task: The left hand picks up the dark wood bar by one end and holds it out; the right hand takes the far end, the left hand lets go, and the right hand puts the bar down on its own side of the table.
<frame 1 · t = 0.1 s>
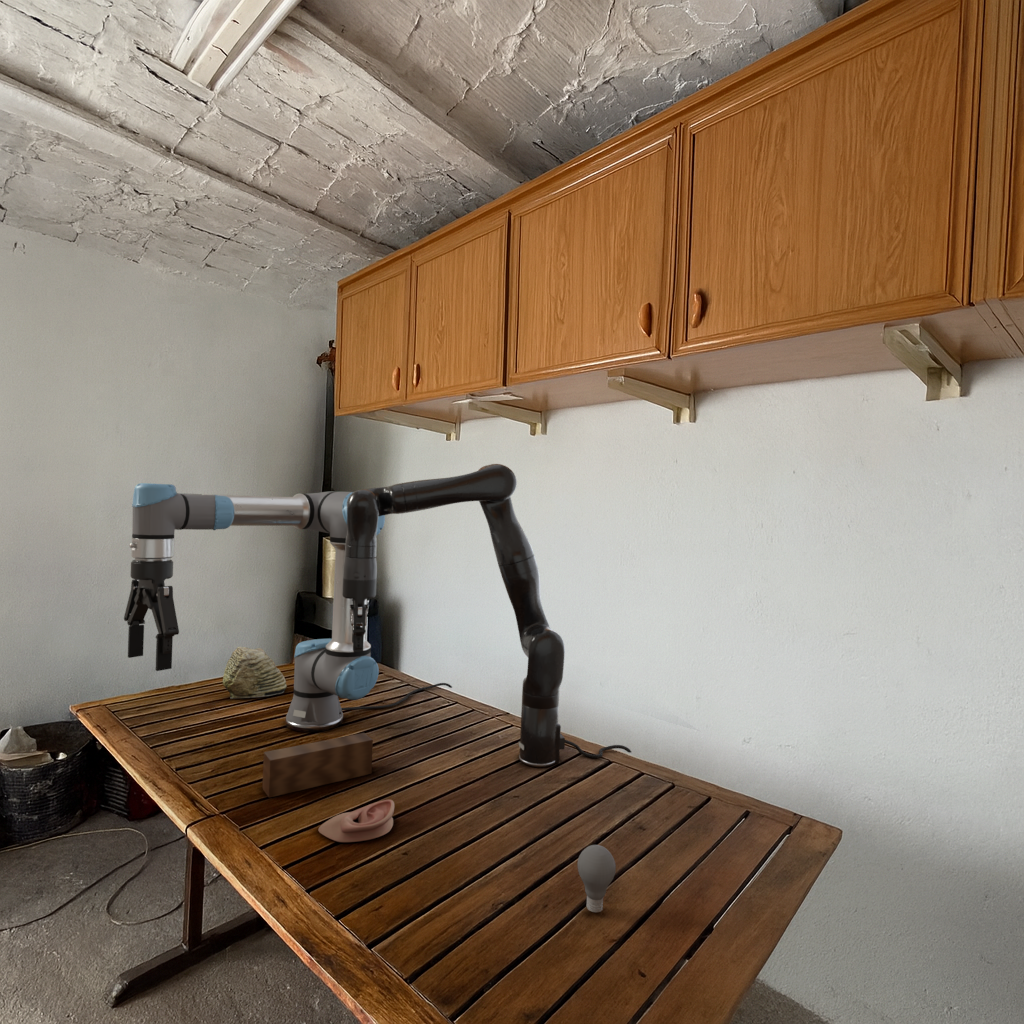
left hand: (149, 662, 129), 28 cm above the table, tool pointing down, fingers open, 13 cm apart
right hand: (357, 647, 145), 29 cm above the table, tool pointing down, fingers open, 8 cm apart
fossil: (254, 694, 198), on the table
light bulb: (594, 911, 100), on the table
bar: (318, 780, 141), on the table
anatomical model: (356, 828, 122), on the table
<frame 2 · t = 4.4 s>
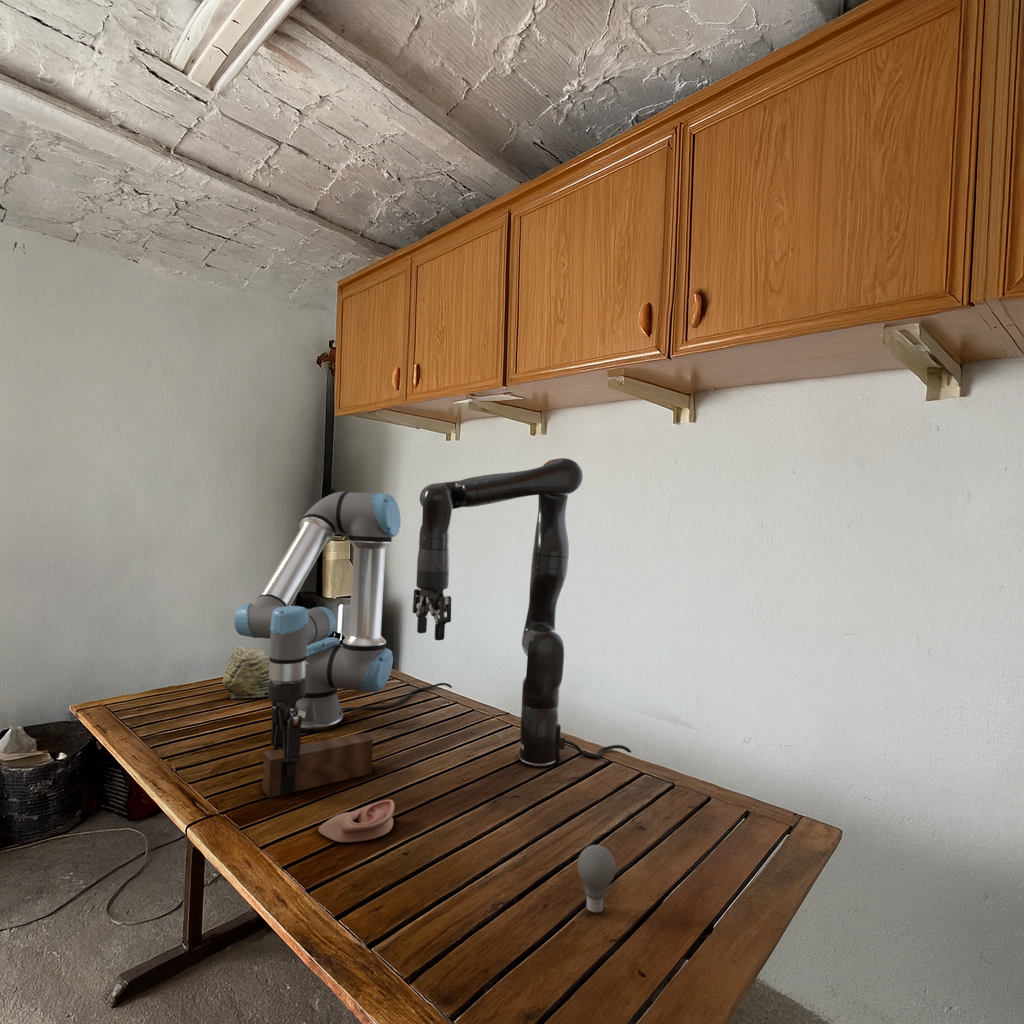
left hand: (283, 786, 137), 1 cm above the table, tool pointing down, fingers closed on bar, 5 cm apart
right hand: (430, 636, 150), 31 cm above the table, tool pointing down, fingers open, 8 cm apart
bar: (318, 780, 141), on the table, touching left hand
everything else where it was.
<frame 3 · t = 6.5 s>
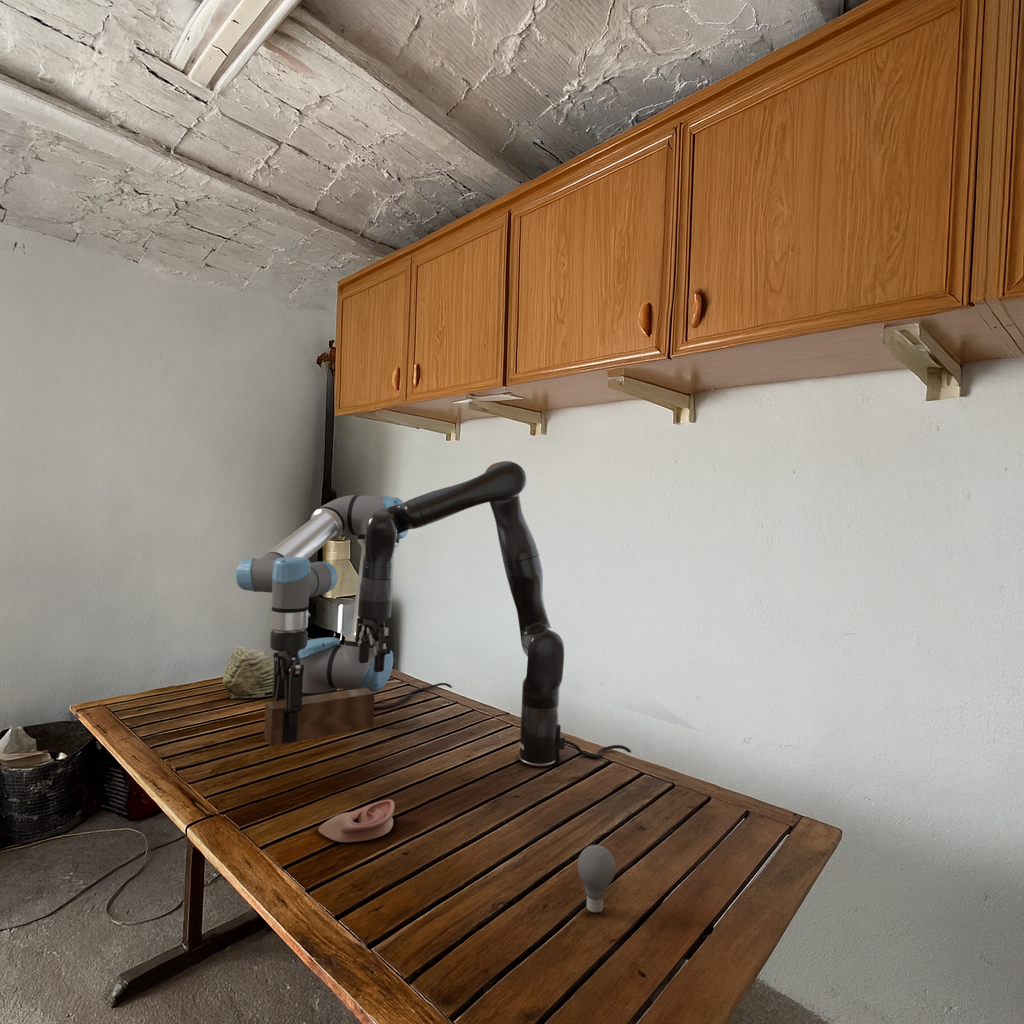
left hand: (285, 736, 136), 11 cm above the table, tool pointing down, fingers closed on bar, 5 cm apart
right hand: (370, 667, 146), 24 cm above the table, tool pointing down, fingers open, 8 cm apart
bar: (320, 732, 141), point 11 cm above the table, touching left hand
everything else where it was.
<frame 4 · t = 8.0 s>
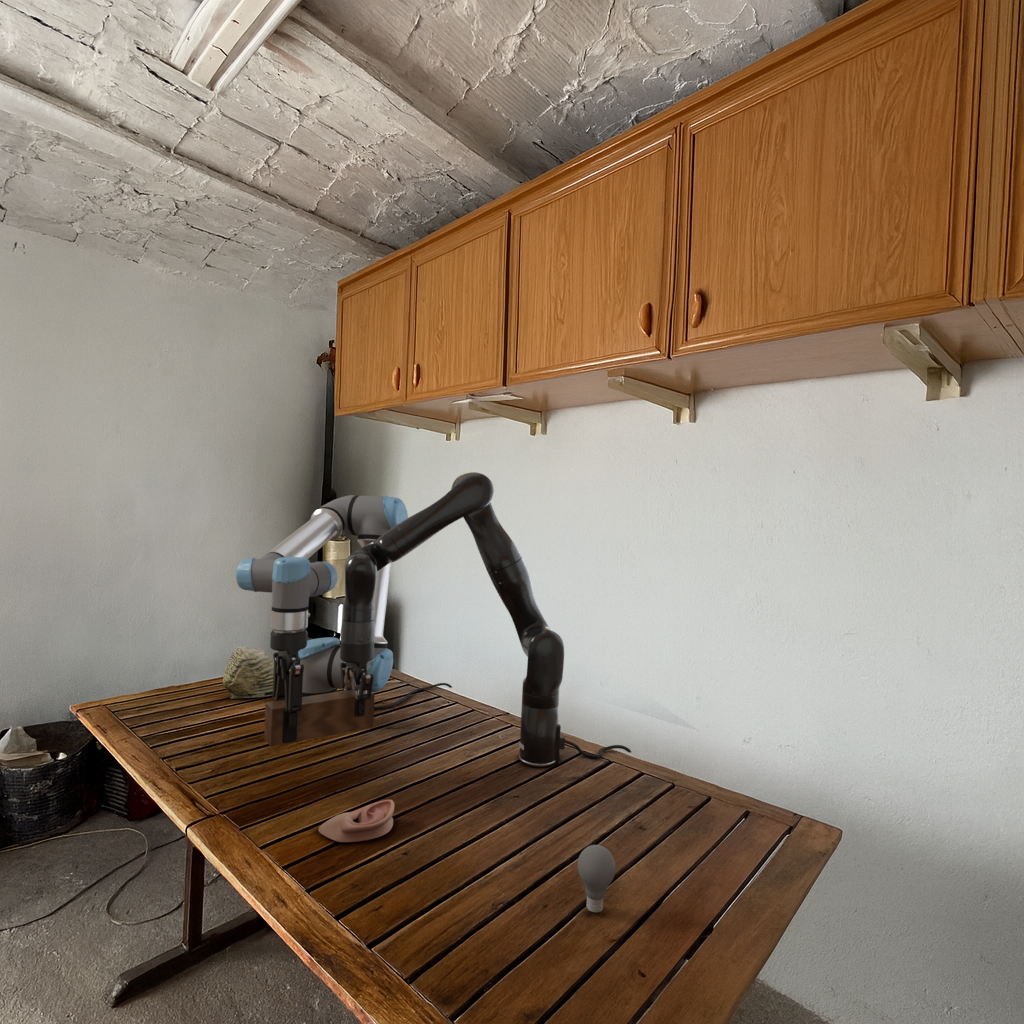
left hand: (285, 736, 136), 11 cm above the table, tool pointing down, fingers closed on bar, 5 cm apart
right hand: (354, 712, 146), 14 cm above the table, tool pointing down, fingers closed on bar, 5 cm apart
bar: (320, 733, 141), point 11 cm above the table, touching left hand, right hand
everything else where it was.
when the left hand's fingers open (11 cm above the table, at t = 8.9 s): bar stays where it is, held by the right hand.
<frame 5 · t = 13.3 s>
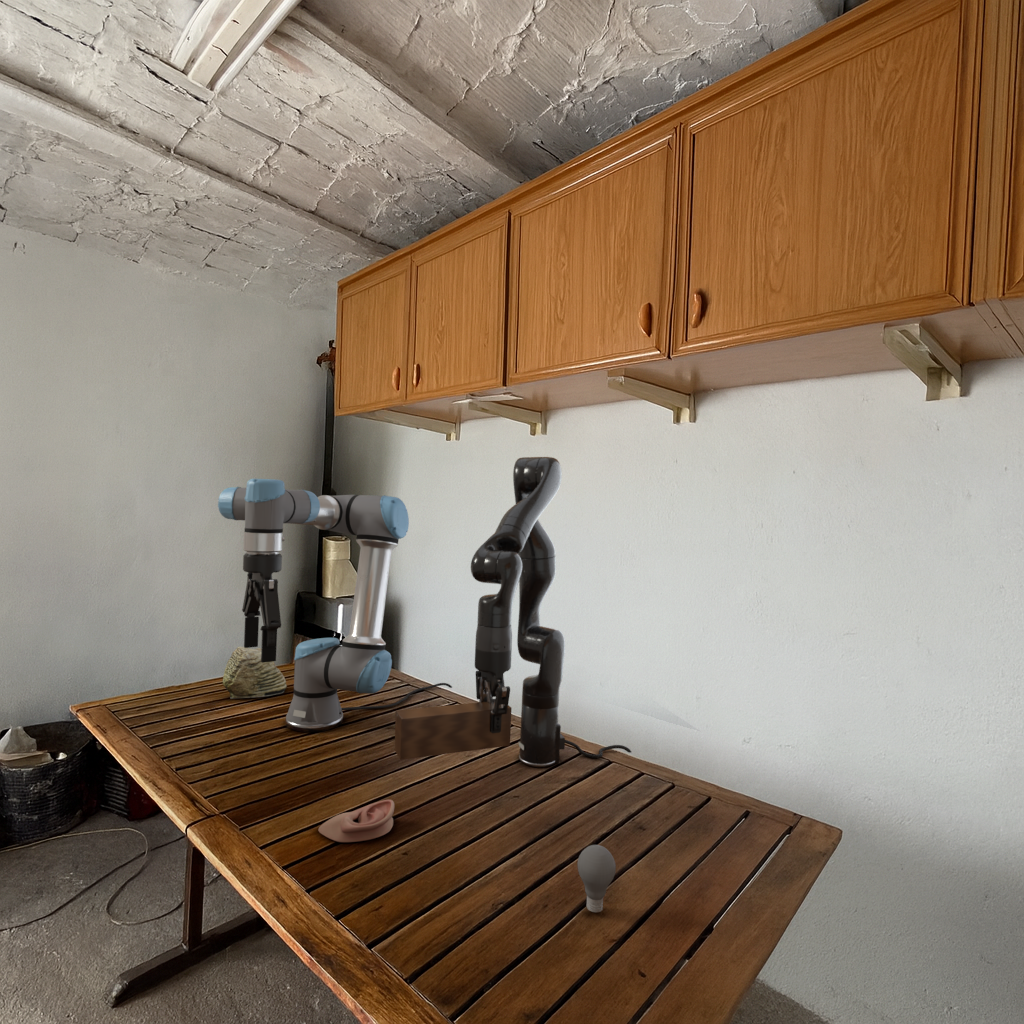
left hand: (259, 654, 132), 30 cm above the table, tool pointing down, fingers open, 13 cm apart
right hand: (490, 727, 131), 17 cm above the table, tool pointing down, fingers closed on bar, 5 cm apart
bar: (453, 747, 128), point 14 cm above the table, touching right hand
everything else where it was.
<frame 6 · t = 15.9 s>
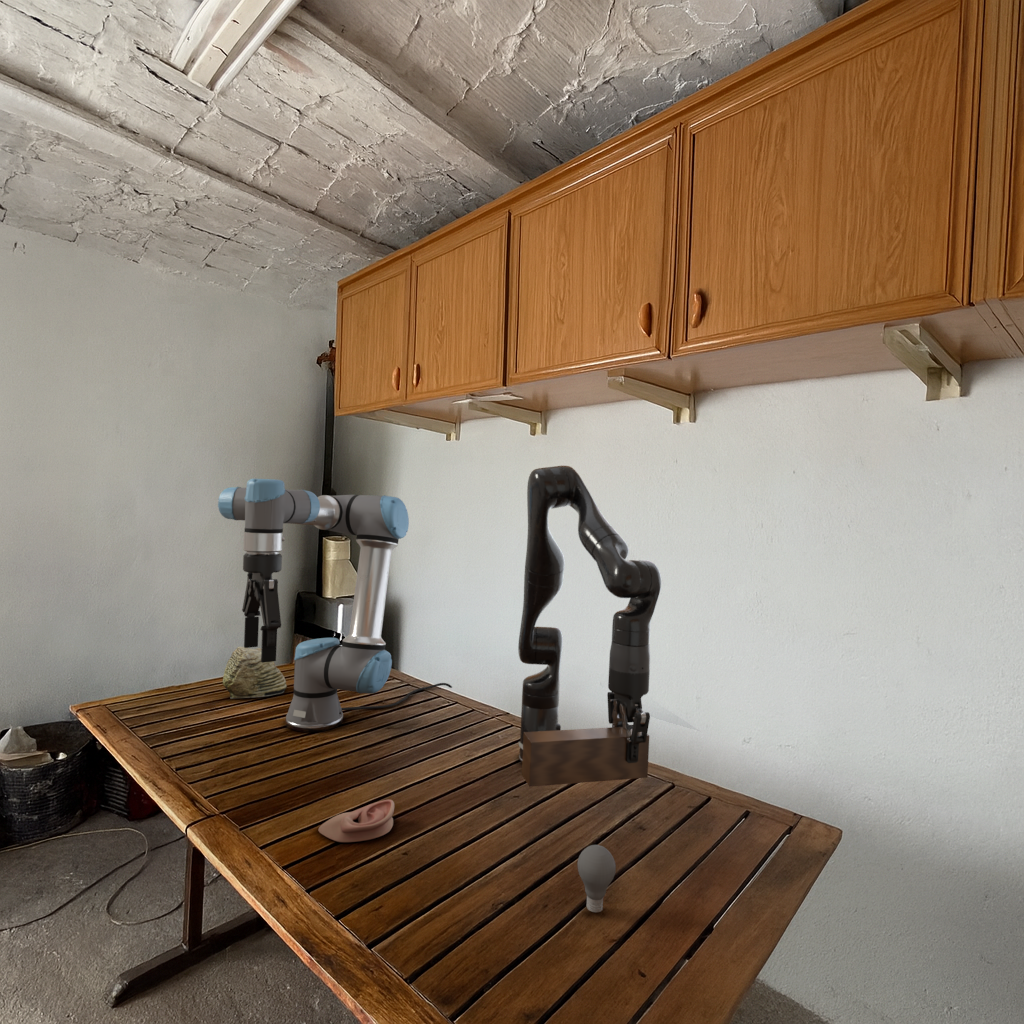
left hand: (259, 654, 132), 30 cm above the table, tool pointing down, fingers open, 13 cm apart
right hand: (625, 755, 119), 17 cm above the table, tool pointing down, fingers closed on bar, 5 cm apart
bar: (584, 776, 117), point 14 cm above the table, touching right hand
everything else where it was.
when the right hand's fingers open (4 cm above the table, at t = 18.4 s): bar drops 1 cm, on the table.
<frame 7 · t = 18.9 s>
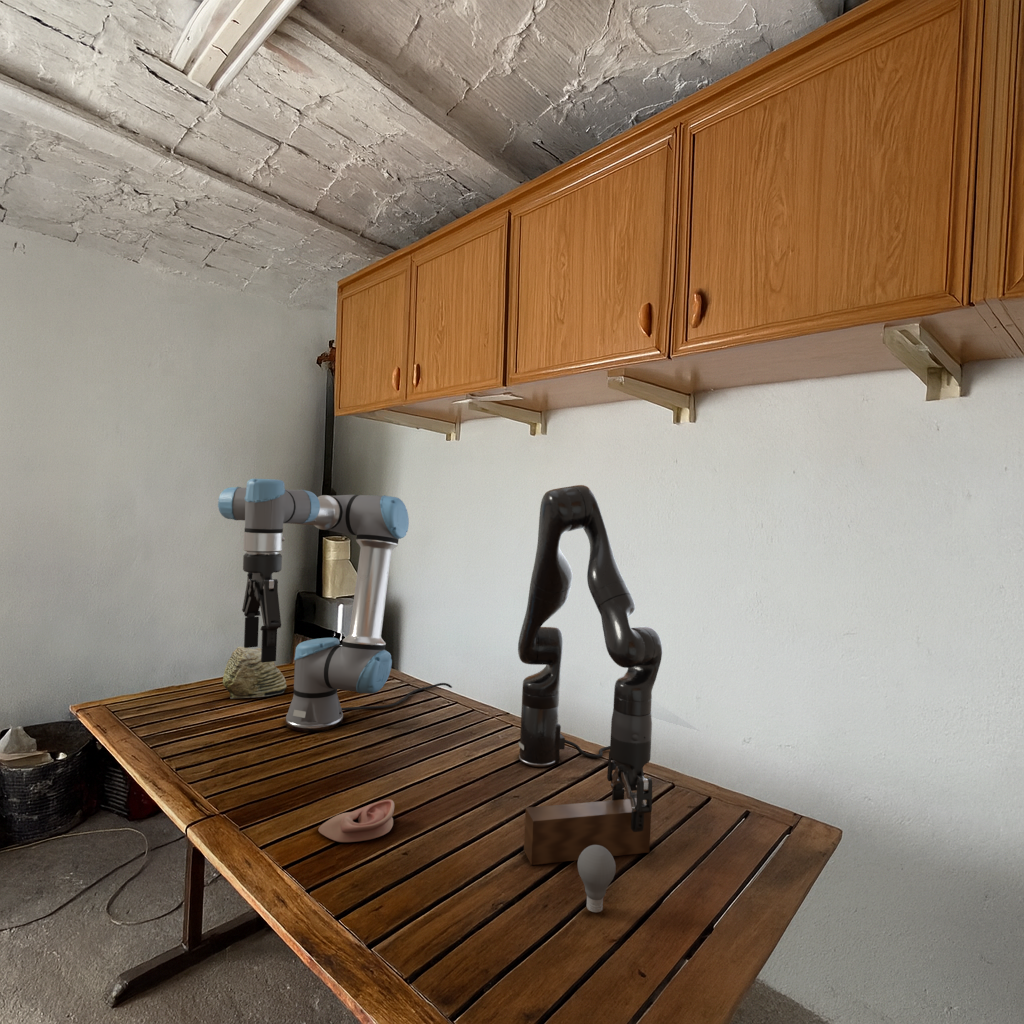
left hand: (259, 654, 132), 30 cm above the table, tool pointing down, fingers open, 13 cm apart
right hand: (626, 819, 119), 5 cm above the table, tool pointing down, fingers open, 8 cm apart
bar: (586, 851, 117), on the table
everything else where it was.
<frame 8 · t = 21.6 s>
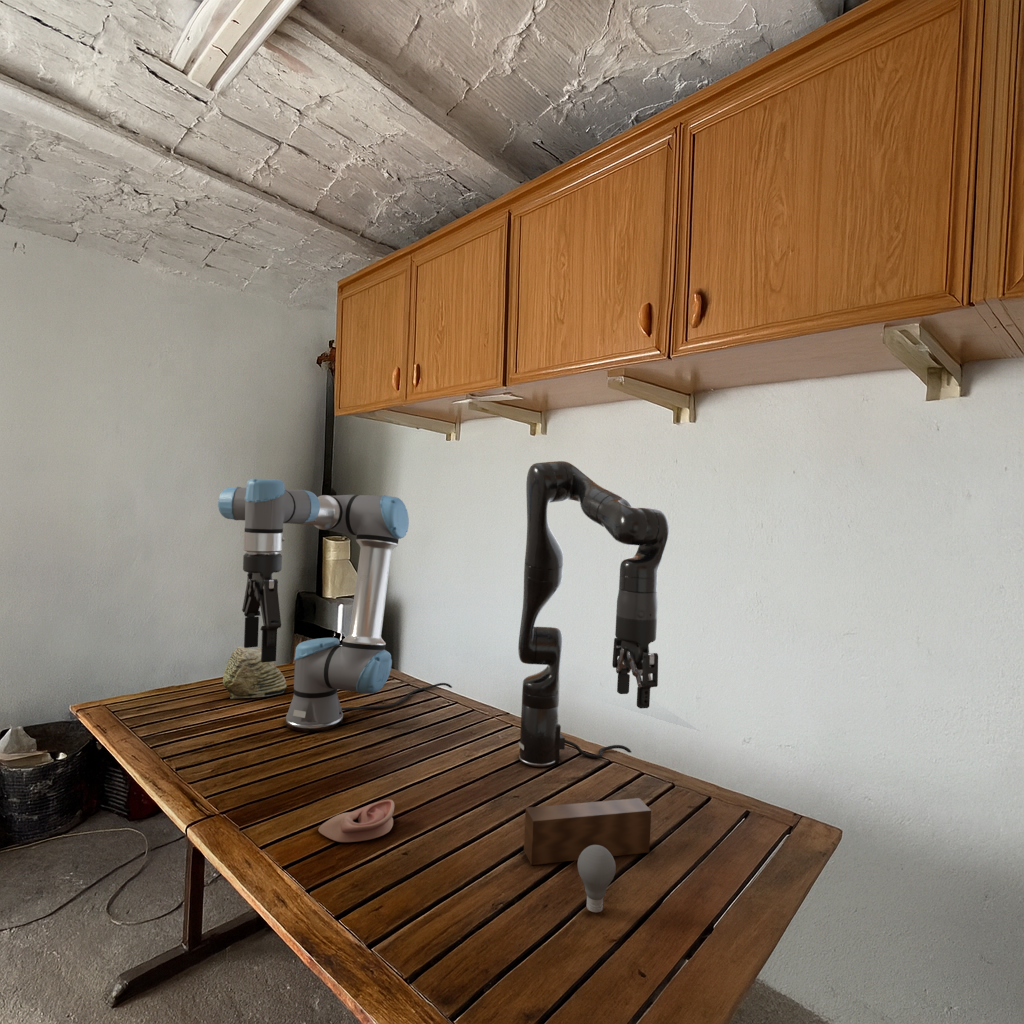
left hand: (259, 654, 132), 30 cm above the table, tool pointing down, fingers open, 13 cm apart
right hand: (632, 700, 119), 28 cm above the table, tool pointing down, fingers open, 8 cm apart
nothing on the table moved.
at the end: bar inside the target area (7.8 cm from its centre), on the table; the left hand is holding nothing; the right hand is holding nothing; bar at rest at the end (0.0 cm/s) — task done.
